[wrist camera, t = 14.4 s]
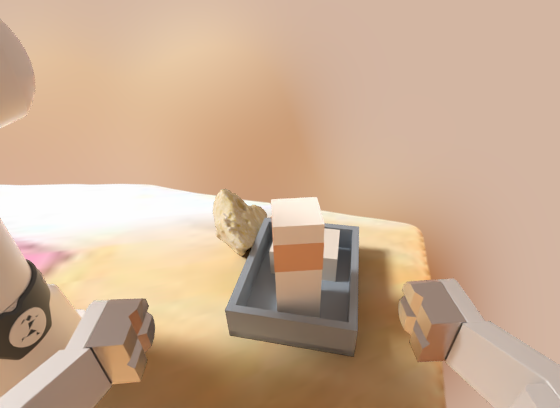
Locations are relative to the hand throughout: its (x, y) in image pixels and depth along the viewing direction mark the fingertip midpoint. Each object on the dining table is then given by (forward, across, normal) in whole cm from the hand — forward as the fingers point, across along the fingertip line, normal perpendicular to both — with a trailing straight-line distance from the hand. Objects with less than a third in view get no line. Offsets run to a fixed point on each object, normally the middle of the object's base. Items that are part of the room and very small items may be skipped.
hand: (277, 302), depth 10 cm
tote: (+27, -4, +30) cm, 40 cm away
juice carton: (+23, -3, +28) cm, 37 cm away
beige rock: (+38, +4, +30) cm, 48 cm away
